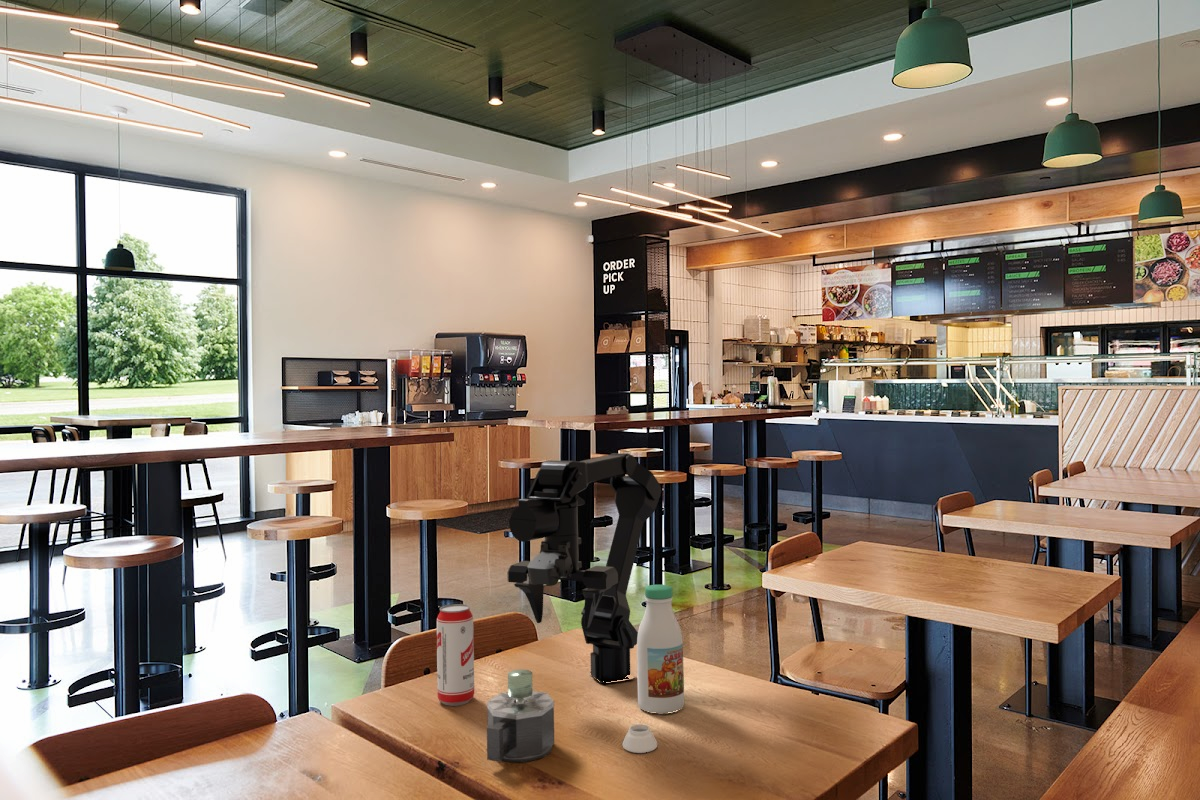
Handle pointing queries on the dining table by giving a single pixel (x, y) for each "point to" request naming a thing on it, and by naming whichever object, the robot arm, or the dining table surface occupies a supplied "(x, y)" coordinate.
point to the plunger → (520, 684)
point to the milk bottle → (660, 654)
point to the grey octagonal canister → (520, 727)
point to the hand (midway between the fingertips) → (562, 625)
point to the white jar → (639, 739)
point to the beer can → (455, 655)
